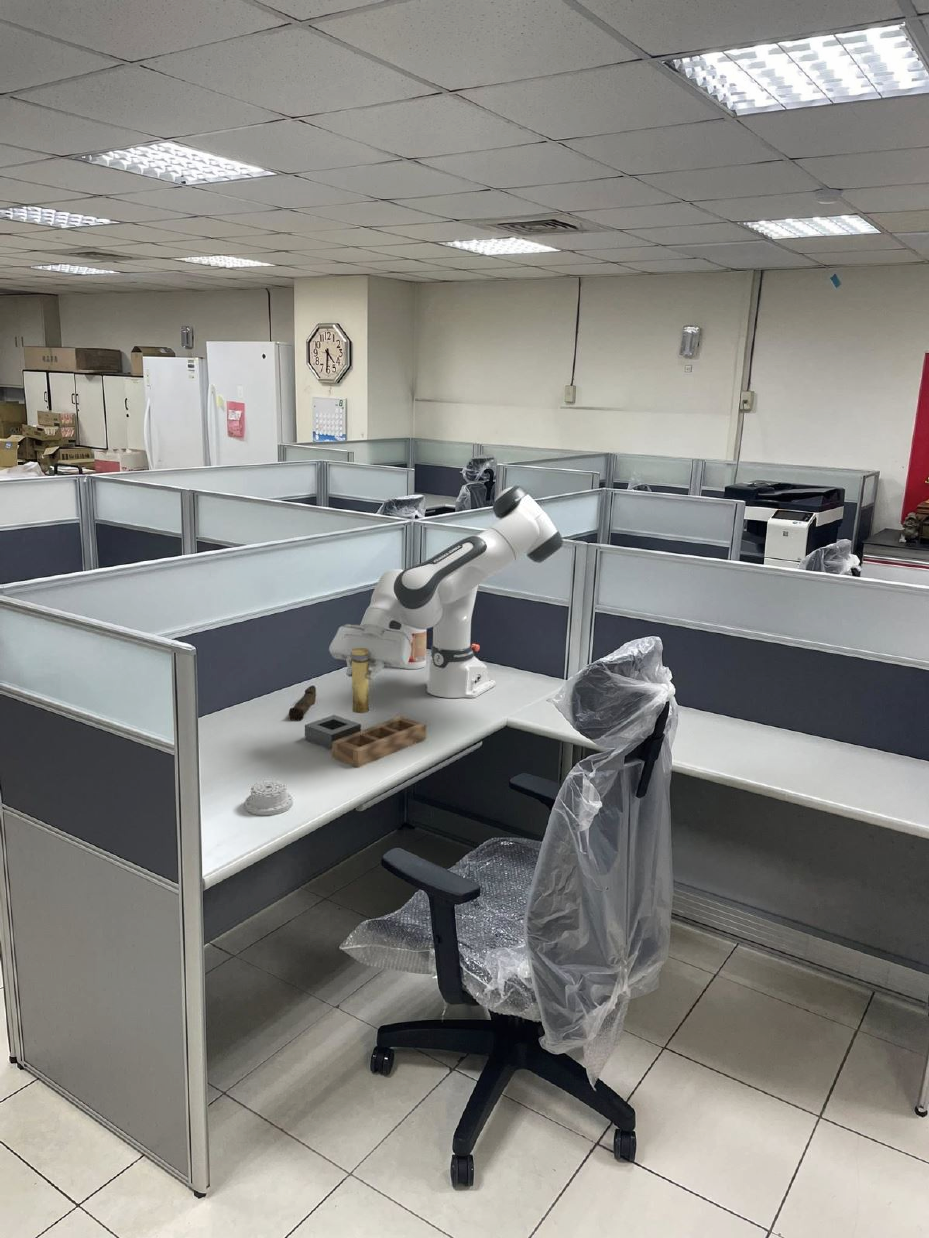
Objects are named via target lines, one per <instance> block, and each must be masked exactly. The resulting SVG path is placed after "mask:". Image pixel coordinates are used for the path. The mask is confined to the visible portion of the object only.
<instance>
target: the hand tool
mask: <svg viewBox="0 0 929 1238" xmlns="http://www.w3.org/2000/svg"><path fill="white" fill-rule="evenodd" d="M316 699H317V688H316V686H315V685H310V686H308V687H307V688H306V689H305V690H304V694H303V696H301V698H300V699H299V700H298V702H296V704H295V705H294V706H293V707H290V708H289V711H288V717H289V719H290V720H291V721H298V720H299V721H302V720H303V719H304V716H305V714H306V713H307V711H308V710H309V709H310V707H311V706H313V705H315V703H316Z"/></svg>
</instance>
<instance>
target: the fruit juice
mask: <svg viewBox="0 0 929 1238" xmlns="http://www.w3.org/2000/svg"><path fill="white" fill-rule="evenodd" d="M401 623H402V622H401ZM406 626H407V627H408V629H409V630H410V632H411V634H412V636H413V641H412V643H411V644H410V645H411V648H412V649H411V655H410V658H409V661H408V664H407V665H406V666H405V667H404V668H403V669H406V670H419V669H423V668H424V667H426V664H427V635H428V634H427V631H428V629H417V628H414V627H411V626H408V625H406Z"/></svg>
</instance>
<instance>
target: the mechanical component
mask: <svg viewBox="0 0 929 1238" xmlns="http://www.w3.org/2000/svg"><path fill="white" fill-rule="evenodd" d="M286 785H287V784H285V783H282V781H277V780H270V781H269V780H267V781H264V780H263V781H262V782H259V783H254V784H252V786H251V787H250V795H249V796H247V797H246V798H245V800H244V809H245V810H246V811H247V812H249V813H251V814H252V815H253V814H254V815H256V816H257V815H258V816H272V815H273V816H274V815H278V814H281V813H284V812H286V811H288V810H290V809H291V808H292V807H293V803H294V801H293V800H294V799H293V796H292V795H291V793H288V792H287V786H286Z"/></svg>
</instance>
